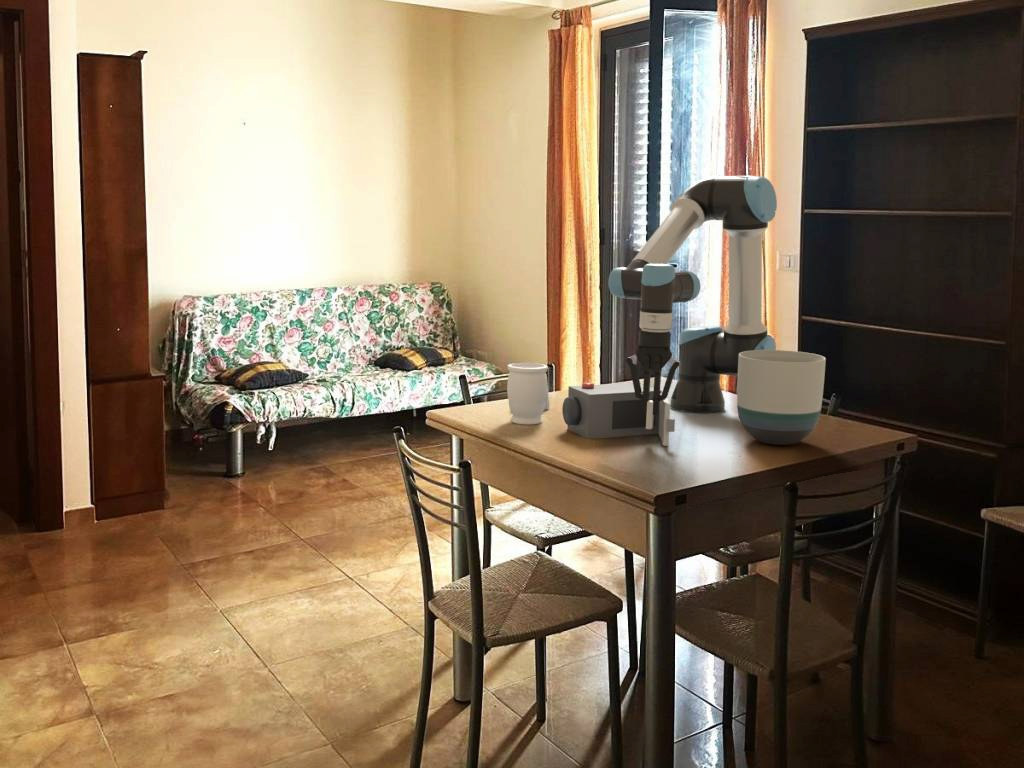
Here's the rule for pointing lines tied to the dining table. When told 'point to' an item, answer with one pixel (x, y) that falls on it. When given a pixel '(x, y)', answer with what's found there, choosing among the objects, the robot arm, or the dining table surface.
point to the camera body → (606, 411)
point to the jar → (527, 392)
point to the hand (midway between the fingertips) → (649, 427)
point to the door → (665, 421)
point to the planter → (779, 394)
